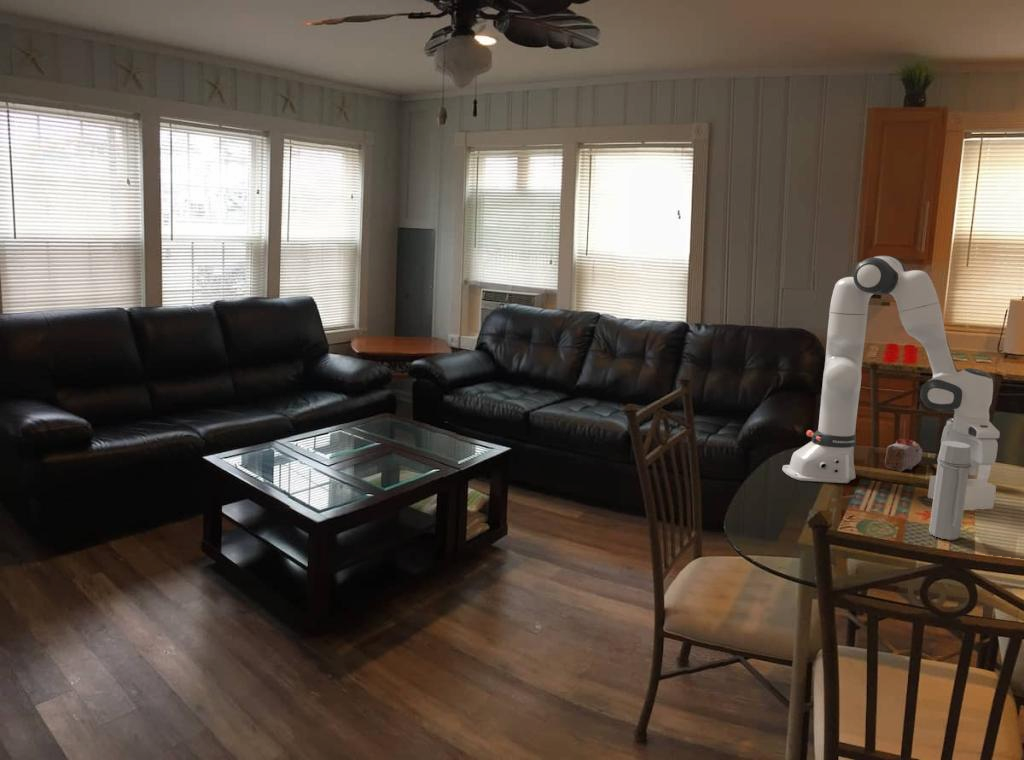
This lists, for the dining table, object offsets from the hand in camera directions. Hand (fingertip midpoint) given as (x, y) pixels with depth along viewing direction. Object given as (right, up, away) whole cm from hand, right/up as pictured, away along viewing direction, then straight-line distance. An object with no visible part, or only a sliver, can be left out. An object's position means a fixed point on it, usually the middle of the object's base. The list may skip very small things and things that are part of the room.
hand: (963, 470), depth 232 cm
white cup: (+15, -7, +20) cm, 25 cm away
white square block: (0, -10, +2) cm, 10 cm away
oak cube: (0, -2, 0) cm, 2 cm away
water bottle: (-19, -15, -25) cm, 35 cm away
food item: (0, -3, +36) cm, 37 cm away
